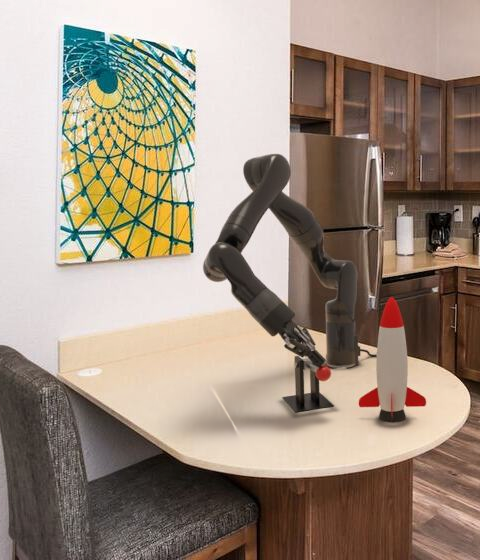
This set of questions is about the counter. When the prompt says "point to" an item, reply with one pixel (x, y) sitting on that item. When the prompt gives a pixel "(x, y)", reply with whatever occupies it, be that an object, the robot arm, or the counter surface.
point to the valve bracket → (307, 400)
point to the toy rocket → (392, 370)
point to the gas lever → (317, 370)
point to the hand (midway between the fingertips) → (322, 364)
